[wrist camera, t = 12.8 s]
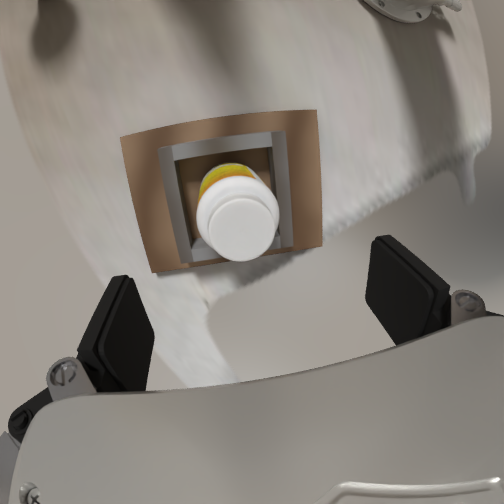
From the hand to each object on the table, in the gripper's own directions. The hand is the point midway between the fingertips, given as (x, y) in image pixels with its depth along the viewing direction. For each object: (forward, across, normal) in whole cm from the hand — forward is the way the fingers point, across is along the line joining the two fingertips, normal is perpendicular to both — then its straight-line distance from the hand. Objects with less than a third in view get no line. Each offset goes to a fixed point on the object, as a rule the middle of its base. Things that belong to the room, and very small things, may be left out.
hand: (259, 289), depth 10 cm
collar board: (+18, 0, +1) cm, 18 cm away
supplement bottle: (+17, 0, 0) cm, 17 cm away
